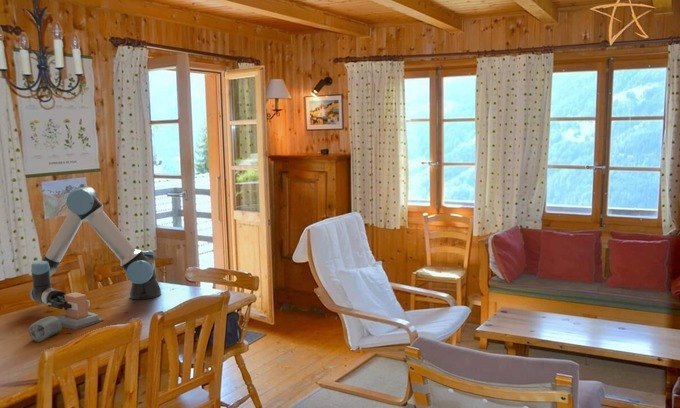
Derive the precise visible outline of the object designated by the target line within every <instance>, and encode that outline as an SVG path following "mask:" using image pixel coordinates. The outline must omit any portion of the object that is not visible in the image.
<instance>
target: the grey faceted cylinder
mask: <svg viewBox="0 0 680 408" xmlns="http://www.w3.org/2000/svg"><path fill="white" fill-rule="evenodd" d="M62 328H63V327H62V325H61V322H60V320H59V319H58V318H57V317H56V315H55V316H54V315H50V316H46V317H43V318H41V319H39V320H37V321H35V322H34V323H31V325H30V326H29V327H28V334H29V336H30V338H31V339H32V340H34V342H36V343H40V342H43V341H45V340H46V339H48V338H51V337H53V336H54V335H57V334H58V333H60V332H61V331H62Z"/></svg>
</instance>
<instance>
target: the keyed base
mask: <svg viewBox="0 0 680 408" xmlns="http://www.w3.org/2000/svg"><path fill="white" fill-rule="evenodd" d="M55 317H57V318H58V319H59V320H60V322H61V325H62V328H66V329H69V330H72V331H75V330H79V329H82V328H85V327H87V326H91V325H94V324H97V323H101V322H104V318H101V317H100V316H99V314H97V313H94V312H90V311H88V317H84V318H81V319H78V320H76V319H72V318H69V317H66V313H63V314H60V315H55Z"/></svg>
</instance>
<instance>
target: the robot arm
mask: <svg viewBox="0 0 680 408" xmlns="http://www.w3.org/2000/svg"><path fill="white" fill-rule="evenodd" d="M65 202H66V206H67V208H68V210H69V211H68V213H67V214H66V217H65V218H64V220H63V222H62V224H61V226H60V228H59V229H58V231H57V233H56V235H55V236H54V238H53V241H52V242H51V244H50V246H49V248H48V250H47V251H46V252H45V255H44V257H43V259H42V260H40V261H39V260H37V261H34V262H32V263H31V266H30V267H31V269H30V271H31V278H32V288H31V290H30V291H29V296H30V299H31V300H32V301H34V302H36V303H38V304H39V303H40V304H43V305H47V307H48V308H50V307H52V308H54V309H58V310H62V309H64V311H66V310H67V308H69V309H73V310H78V306H77V304H76V303H72V302H66V301H65V297H64V295H66V294H67V293H65V292H64V291H62V290H60V289H56V288H52V281H51V277H52V276H53V274H55V273H57V270H58V269H59V266H60V263H61V261H62V260H63V259H64V256H65V254H66V252H67V251H68V248H69V247H70V245H71V243H72V241H73V239H74V238H75V236H76V234H77V232H78V230H79V228H80V227H81V225H82V223H83V222H87V224H89V226H90V227H91V228H92V229H93V230H94V232H95V233H96V234H97V235H98V236H99V238H101V240H102V241H103V242H104V243H105V244H106V246H108V248H109V249H110V250H111V251H112V253H113V254H114V255H115V256H116V257H117V259H118V260H119V261H120V264H119V265H120V267H121V268H122V270H123V271H124V272H125V274H126V277H127V279H128V281H130V282H131V285H130V290H129V299H132V300H148V299H154V298H157V297H159V296H160V295H161V294H162V290H161V288H160V285H159V282H158V280H157V272H156V260H155V259H156V258H155V257H156V255H155V251H154V250H141V249H136V248H135V247H134V245H133V244H132V243H131V242H130V241H129V240H128V239H127V237H126V236H125V235H124V233H123V232H122V231H121V230H120V229H119V228H118V226H116V224H115V223H114V222H113V221H112V219H110V217H109V215H108V214H106V212H105V211H104V205H103V203H102V202H101V201H100V200H99V196H98V193H97V191H96V190H95V189H94V188H93V187H91V186H88V185H82V186H79V187H77V188H74V189H72V190H71V191H70V192H69V193H68V196H67V197H66V201H65ZM87 307H88V308H90V307H91V301H90V300H88V299H87Z"/></svg>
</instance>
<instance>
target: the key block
mask: <svg viewBox="0 0 680 408" xmlns="http://www.w3.org/2000/svg"><path fill="white" fill-rule="evenodd" d="M65 294H66V295H64V297H65V301H66V302H72V303H76V304H77V306H78V310H73V309H69V308H67V310H65V314H66V317H69V318H72V319H76V320H78V319H81V318H84V317H88V312H89V310H88V308H89V307H87V300H88V299H87V298H88V297H87V294H85V293H80V292H76V291H75V292H71V293H65Z"/></svg>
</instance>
